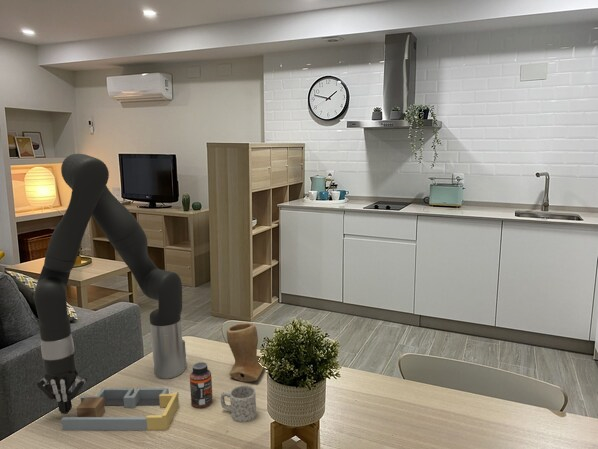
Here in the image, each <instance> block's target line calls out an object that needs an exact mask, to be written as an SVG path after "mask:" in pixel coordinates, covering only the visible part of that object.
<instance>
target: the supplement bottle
mask: <svg viewBox="0 0 598 449" xmlns="http://www.w3.org/2000/svg"><path fill="white" fill-rule="evenodd" d="M189 386H190V387H189V388H190V400H191V402H190V403H191V405H192V406H193V407H194V408H201V409H202V408H207V407H208V406H210V405H211V404H212V403H213V399H214V398H213V382H212V372H211V370H209V367H208V363H206V362H202V361H200V362H196V363H194V364H193V365H192V371H191V372H190V374H189Z"/></svg>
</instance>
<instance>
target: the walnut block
mask: <svg viewBox="0 0 598 449" xmlns="http://www.w3.org/2000/svg"><path fill="white" fill-rule="evenodd" d="M75 409H76V417H103V416H104V415H105V413H106V408H105V406H104V397H85V398H84V400H83V401H82V402H81V401H80V403H79V404H78V405H77V406H76V408H75Z"/></svg>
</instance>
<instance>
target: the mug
mask: <svg viewBox="0 0 598 449" xmlns="http://www.w3.org/2000/svg"><path fill="white" fill-rule="evenodd" d="M225 397H227V398H230V404H226V401H225ZM256 398H257V396H256V389H255V388H254V387H253V386H251V385H238V386H235V387H234V388H232V389H231V390H230V391H223V392H221V394H220V404H221V408H223V409H224V410H227V411H228V412H230V414H231V419H232V420H233V421H234V422H237V423H247V422H251V421H253V420H254V419H255V418H256V416H257V401H256Z"/></svg>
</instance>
